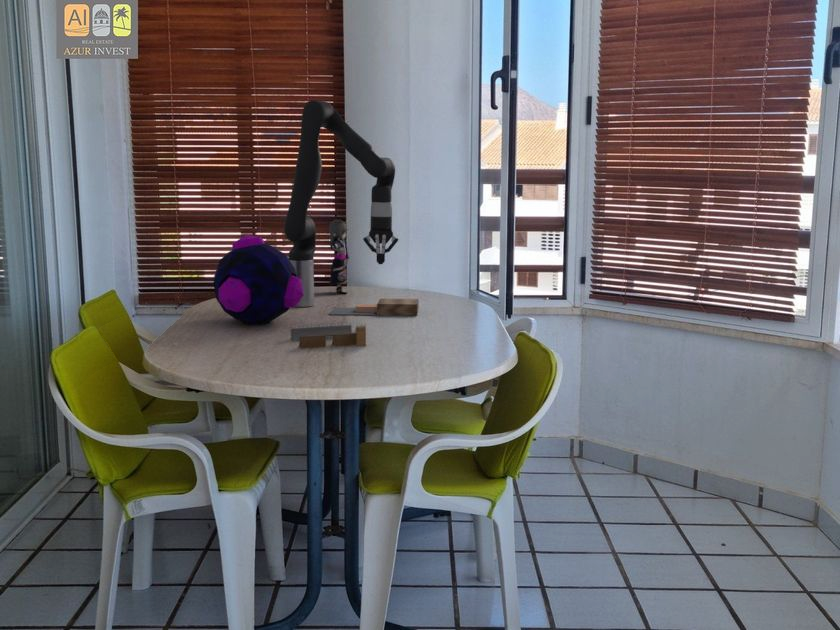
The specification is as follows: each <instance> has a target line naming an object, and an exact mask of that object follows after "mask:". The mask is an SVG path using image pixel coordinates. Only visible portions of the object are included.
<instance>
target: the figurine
mask: <svg viewBox="0 0 840 630" xmlns="http://www.w3.org/2000/svg"><path fill="white" fill-rule="evenodd" d="M347 231H348V227H347V224H346V222H345V221H343V220H342V219H333V220H332V221H331V222H330V224H329V225H328V232H329V238H330V239H329V241H330V243H329V247H330V250H331V251H333V252H334V253H333V254H334V255H333V260H332V264H331V269H330V276H329V277H330V279H329V285H330V286H336V288H335V290H336V294H340V293H347V294H348V292H349V291H348V289H345V288H343V287H342V286H343V285H345V286H347V285H348V277H347V268H346V265H350V263H349V262H350V256H349V253H348V247H347V245H346V242H345V239H347V235H346V233H347Z"/></svg>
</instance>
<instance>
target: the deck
mask: <svg viewBox="0 0 840 630" xmlns="http://www.w3.org/2000/svg"><path fill="white" fill-rule="evenodd" d="M419 302H420V301H419V298H379V299H378V302H377V303H376V304H377V312H376V313H377V316H405V315H417V316H418V314H417V313H419V310H418V309H420V308H419Z"/></svg>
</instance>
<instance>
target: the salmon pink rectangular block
mask: <svg viewBox="0 0 840 630" xmlns="http://www.w3.org/2000/svg"><path fill="white" fill-rule="evenodd" d="M355 308H356V312H376V313H377V303H357V304H356V305H355Z"/></svg>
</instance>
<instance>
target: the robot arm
mask: <svg viewBox="0 0 840 630" xmlns="http://www.w3.org/2000/svg"><path fill="white" fill-rule="evenodd" d="M300 122H301V123H300V124H301V126H300V137H299V138H300V140H299V146H298V152H297V153H298V154H297V160H296V163H295V164H296V165H295V170H294V175H293V176H294V177H293V183H292V192H291V195H290V201H289V206H288V210H287V215H286V216H285V221H284V224H283V226H284V227H283V232H284V234H285V237H286V239H287V240H288V241H290V242H292V243H293V245H292V248H291V249H290V250H289V252H288V255H287V257H288V258H289V260H290V261H291V263H292V265H293V266H294V268H295V271H296V277H297V278H299V279H301V281H302V288H303V294H304V295H303V297H302V298H301V300H300V301H299V303H298V304H297V306H296V307H295V308H297V307H298V308H299V307H300V308H306V307H312V306H314V305H315V281H314V280H315V275H314V274H315V273H314V272H315V270H314V265H315V263H314V256H315V253H316V252H315V251H316V244H317V243H316V241H317V230H316V229H317V228H316V224H315V222H314V219H312V217H310V216H307V215H308V209H309V205H310V203H311V201H312V199H313V197H314V195H315V193H316V192H317V189H318V187H319V184H320V180H321V175H322V168H323V162H322V156H321V152H320V145H319V142H320V141H319V140H320V132H321V129H322V128H324V129H326V130H327V131H329V132H331V133H332V134H333V135H335V137H336V138H337V139H338V140H339V141H340V143H341V144H342V147H343V148H344V149H345V150H346V151H347V152H348V153H349V154H350V155H351V156H352V157H353V158H355V160H357V161H358V162H359V163H360V164H361V166H362V167H363V168H364V170H365V171H366V172H367V173H368V174H369V175H370V176H372V177H373V178H376V183H375V184H374V185H373V186H372V188H371V193H370V194H371V196H370V197H371V198H370V199H371V202H370V203H371V204H370V224H369V225H370V227H369V229H370V230H369V231H368V234H367V236H365V237H363V238H362V240H363V242H364V243H365V244H366V245H367V247H368V248H369V250H371V252H372V253H375V254H376V263H378V265H383V264H384V263H385V261H386V253H390V251H391V250H392V249H393V247H394V246H396V244H397V243H398V242H399V238H398V237H396V236H395V235H394V232H393V207H392V189H393V186H394V181H395V175H396V166H395V163H394V161H393V160H392V159H391V158H389V157H380V156H379V155H378V154H377V153H376V152H375V148H374V147H373V146H372V145H371V144H370V143H369V142H368V141H367V140H366V139H364V137H362V136H361V135H359V134H358V133H357V132H356V131H355V130H354V129H353V128H352V127H351V126H350V125H349V124H348V123H347V122H346V121H345V120H344V119H343V118H342V116H341V115H340V113H338V111H337V110H336V108H334V106H333V105H332V104H330V103H329V102H327V101H323V100H316V99H312V100H308V101H307V102H306V103H305V104H304V106H303V109H302V112H301V121H300ZM390 240H391V243H390V245H389V246H388V247H387V243H389V242H390ZM371 241H373V243H375V246H374V245H373V243H372V242H371ZM386 247H387V248H386Z"/></svg>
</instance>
